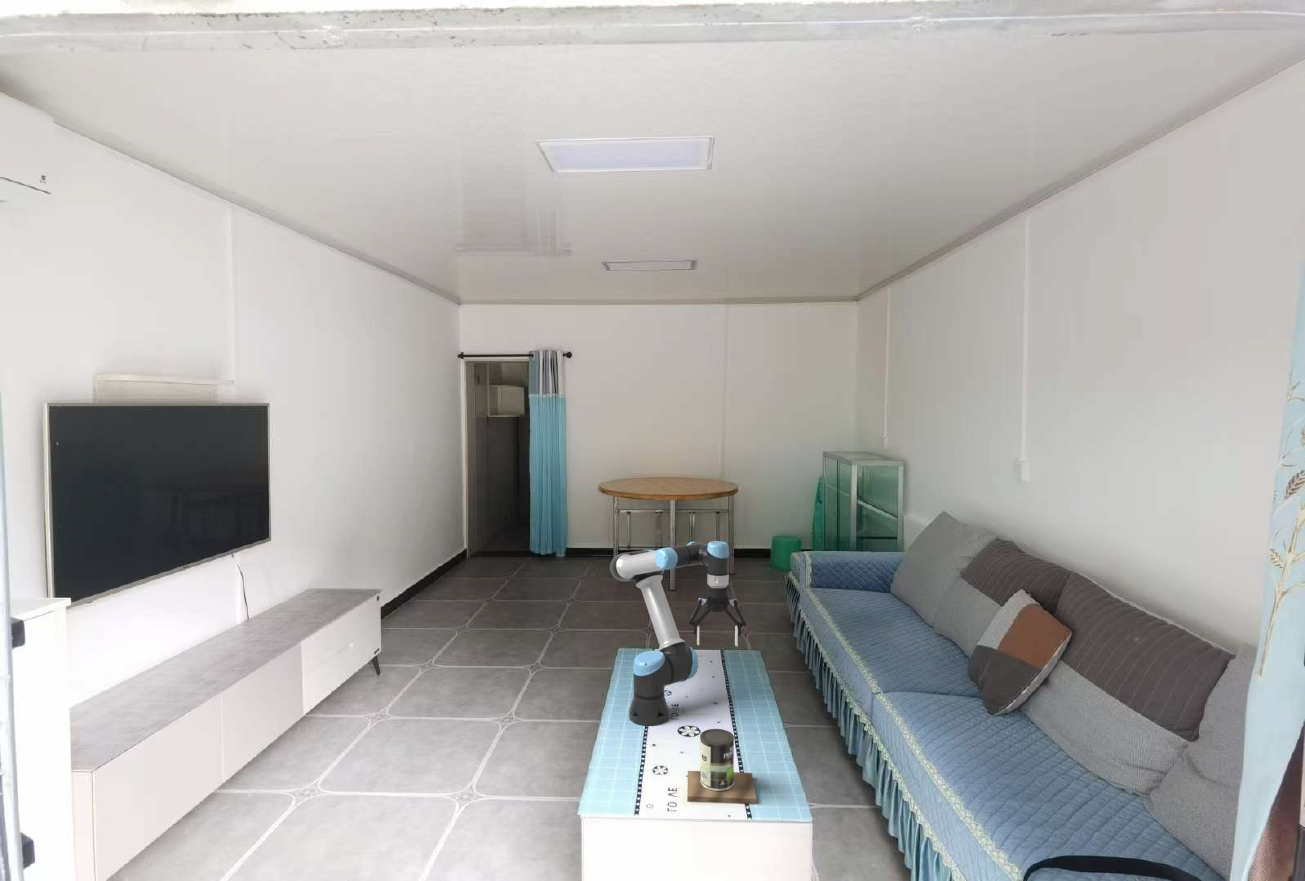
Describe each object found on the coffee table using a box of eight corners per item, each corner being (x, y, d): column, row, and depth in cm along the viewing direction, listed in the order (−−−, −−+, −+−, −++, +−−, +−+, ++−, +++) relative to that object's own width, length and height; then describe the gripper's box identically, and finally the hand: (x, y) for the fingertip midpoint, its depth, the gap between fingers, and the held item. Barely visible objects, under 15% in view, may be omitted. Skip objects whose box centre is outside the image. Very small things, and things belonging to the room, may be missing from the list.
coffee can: (739, 778, 199) (739, 733, 199) (725, 795, 190) (725, 747, 190) (709, 769, 204) (709, 725, 204) (694, 785, 196) (694, 738, 195)
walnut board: (687, 801, 190) (687, 796, 190) (687, 775, 204) (687, 770, 204) (756, 803, 189) (756, 798, 189) (752, 777, 203) (752, 772, 203)
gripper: (682, 587, 228) (682, 647, 229) (754, 589, 227) (753, 649, 228) (682, 582, 236) (682, 639, 237) (752, 583, 234) (751, 641, 235)
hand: (717, 644), depth 232 cm, fingers open, 13 cm apart
